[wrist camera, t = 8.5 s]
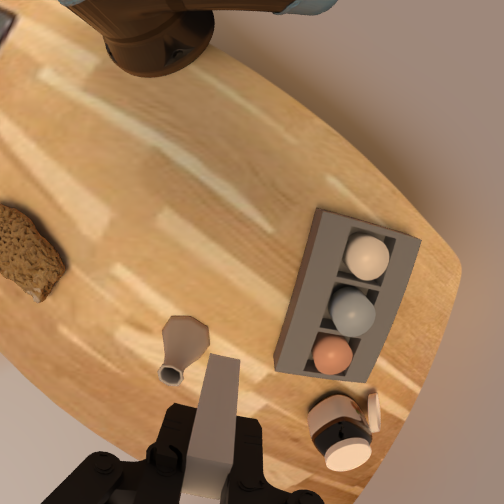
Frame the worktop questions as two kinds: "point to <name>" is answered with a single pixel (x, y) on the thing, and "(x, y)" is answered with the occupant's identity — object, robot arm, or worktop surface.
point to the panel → (331, 280)
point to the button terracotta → (331, 353)
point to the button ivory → (365, 256)
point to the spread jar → (343, 430)
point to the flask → (181, 347)
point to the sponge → (27, 255)
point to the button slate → (351, 311)
